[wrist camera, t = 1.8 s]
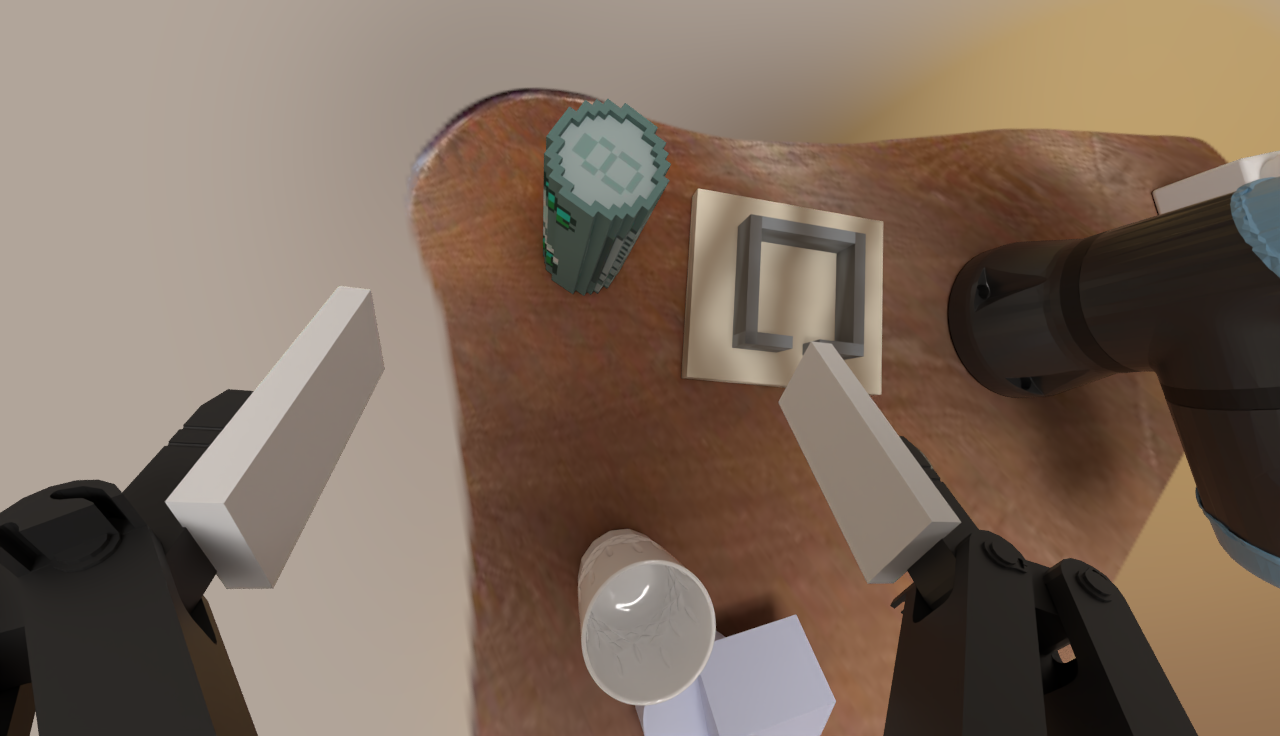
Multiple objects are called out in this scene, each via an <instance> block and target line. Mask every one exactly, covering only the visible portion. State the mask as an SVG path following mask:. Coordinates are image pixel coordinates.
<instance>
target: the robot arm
mask: <svg viewBox="0 0 1280 736" xmlns="http://www.w3.org/2000/svg"><path fill="white" fill-rule="evenodd" d="M949 325H950V331H951V335H952V339H953V342H954V345H955V348H956V350H957V353H958V355H959V357H960V359H961V360H962V362H963V364H964V365H965V367H966V368H967V369H968V371H969V372H970V373H971V374H972V375H973V376H974V377H975V378H976V379H977V380H978V381H979V382H980V383H981V384H982V385H984V386H985V387H987V388H988V389H990V390H992V391H993V392H995V393H998V394H1000V395H1003V396H1008V397H1014V398H1024V397H1045V396H1051V395H1055V394H1058V393H1061V392H1064V391H1067V390H1070V389H1073V388H1075V387H1078V386H1081V385H1084V384H1087V383H1090V382H1093V381H1096V380H1099V379H1102V378H1105V377H1108V376H1110V375H1113V374H1117V373H1128V372H1141V371H1155V372H1156V374H1157V376H1158V379H1159V381H1160V384H1161V387H1162V389H1163V392H1164V395H1165V399H1166V401H1167V404H1168V407H1169V410H1170V412H1171V415H1172V418H1173V421H1174V424H1175V427H1176V429H1177V432H1178V435H1179V438H1180V441H1181V444H1182V446H1183V449H1184V452H1185V455H1186V458H1187V460H1188V463H1189V466H1190V469H1191V471H1192V475H1193V477H1194V480H1195V483H1196V486H1197V487H1196V499H1197V502H1198V504H1199V507H1200V508H1201V509H1202V510H1203V513H1204V515H1205V516H1206V517H1207V518H1208V519H1209V520H1210V523H1211V525H1212V527H1213V530H1214V532H1215V535H1216V537H1217V539H1218V541H1219V543H1220V545H1221V546H1222V547H1223V549H1224V550H1225V551H1226V552H1227V553H1228V554H1229V556H1230V557H1231V558H1232V559H1233V560H1235V561H1236V562H1237V563H1238V564H1239V565H1241V566H1242V567H1243V568H1245V569H1246V570H1248V571H1249V572H1251V573H1252V574H1254V575H1255V576H1257V577H1259V578H1261V579H1262V580H1264V581H1266V582H1268V583H1270V584H1272V585H1274V586H1276V587H1278V588H1280V176H1279V177H1269V178H1262V179H1258V180H1255V181H1252V182H1249V183H1247V184H1244V185H1242V186H1240V187H1239V188H1238V189H1237V191H1235V192H1232V193H1228V194H1225V195H1222V196H1219V197H1215V198H1212V199H1209V200H1206V201H1203V202H1199V203H1196V204H1193V205H1190V206H1186V207H1183V208H1180V209H1177V210H1173V211H1170V212H1167V213H1164V214H1161V215H1157V216H1154V217H1151V218H1148V219H1144V220H1141V221H1138V222H1135V223H1131V224H1128V225H1125V226H1122V227H1119V228H1115V229H1112V230H1110V231H1106V232H1103V233H1100V234H1097V235H1094V236H1091V237H1087V238H1084V239H1069V240H1050V241H1031V242H1016V243H1011V244H1007V245H1003V246H1000V247H998V248H995V249H992V250H989V251H987V252H984V253H982V254H979V255H978V256H976V257H975V258H973V259H972V260H971V261H969V262H968V263H967V264H966V265H965V267H964V268H963V269H962V270H961V272H960V273H959V275H958V277H957V279H956V281H955V283H954V286H953V289H952V292H951V296H950V302H949ZM383 371H384V363H383V357H382V351H381V345H380V339H379V333H378V328H377V322H376V316H375V310H374V304H373V299H372V293H371V289H362V288H354V287H345V286H338V288H337V289H336V290H335V291H334V293H333V294H332V295H331V296H330V297H329V299H328V300H327V301H326V302H325V304H324V305H323V306H322V308H321V309H320V310H319V311H318V312H317V314H316V315H315V316H314V317H313V319H312V320H311V321H310V322H309V323H308V325H307V326H306V327H305V328H304V330H303V331H302V332H301V333H300V335H299V336H298V337H297V338H296V340H295V341H294V342H293V343H292V345H291V346H290V347H289V348H288V350H287V351H286V352H285V353H284V355H283V356H282V357H281V358H280V359H279V361H278V362H277V363H276V364H275V366H274V367H273V368H272V369H271V371H270V372H269V373H268V374H267V376H266V377H265V378H264V379H263V381H262V382H261V383H260V384H259V385H258V387H257V388H256V389H255V390H254V391H244V390H230V389H228V390H226V391H224V392H223V393H221V394H219V395H218V396H216V397H215V398H213V399H211V400H210V401H208V402H206V403H205V404H203V405H201V406H200V407H199V409H198V410H197V411H196V412H195V413H194V414H193V415H192V416H191V417H190V419H189V420H188V421H187V422H186V423H185V424H184V428H183V429H180V430H179V431H178V432H177V433H176V434H175V435H174V436H173V437H172V438H171V440H170V441H169V444H168V446H164V447H163V448H162V449H161V450H160V452H159V453H158V454H157V455H156V456H155V457H154V458H153V459H152V460H151V462H150V463H149V464H148V465H147V466H146V467H145V468H144V469H143V470H142V472H141V473H140V474H139V475H138V476H137V477H136V478H135V479H134V480H133V481H132V482H131V484H130V485H129V486H128V487H127V488H126V489H125V490H124V491H123V492H122V493H121V491H120V490H119V489H118V488H117V486H116V485H115V484H112V483H108V482H105V481H101V480H80V481H79V480H77V481H72V482H68V483H64V484H60V485H56V486H51V487H48V488H46V489H43V490H41V491H39V492H37V493H34V494H32V495H29V496H27V497H25V498H23V499H21V500H19V501H18V502H16V503H15V504H13V505H12V506H10V507H9V508H7V509H6V510H4V511H3V512H1V513H0V736H30V731H31V727H32V723H33V719H34V715H35V711H36V717H37V724H38V731H39V736H258V734H257V732H256V729H255V727H254V724H253V721H252V718H251V716H250V713H249V711H248V708H247V705H246V702H245V700H244V697H243V694H242V692H241V689H240V686H239V684H238V681H237V678H236V675H235V673H234V670H233V667H232V665H231V662H230V659H229V657H228V654H227V651H226V649H225V646H224V644H223V641H222V638H221V635H220V633H219V630H218V627H217V624H216V622H215V619H214V616H213V614H212V611H211V608H210V606H209V603H208V601H207V599H206V598H205V597H204V596H203V594H204V592H205V591H206V589H207V587H208V586H209V584H210V582H211V581H212V579H213V578H214V576H215V575H217V576H218V577H219V579H220V580H221V581H222V583H223V584H224V586H225V587H226V589H253V588H255V589H256V588H257V589H260V588H261V589H262V588H274V586H275V584H276V582H277V580H278V578H279V576H280V574H281V572H282V570H283V568H284V566H285V564H286V562H287V560H288V558H289V556H290V554H291V552H292V550H293V548H294V546H295V545H296V542H297V540H298V539H299V537H300V535H301V533H302V531H303V529H304V527H305V525H306V523H307V521H308V519H309V517H310V515H311V513H312V511H313V509H314V507H315V505H316V503H317V501H318V499H319V497H320V495H321V493H322V491H323V489H324V487H325V485H326V483H327V481H328V480H329V477H330V476H331V473H332V472H333V470H334V468H335V465H336V464H337V462H338V460H339V458H340V456H341V454H342V452H343V450H344V448H345V446H346V444H347V442H348V440H349V438H350V436H351V434H352V432H353V430H354V428H355V426H356V424H357V422H358V420H359V418H360V416H361V415H362V412H363V410H364V409H365V406H366V405H367V403H368V401H369V399H370V397H371V395H372V393H373V391H374V389H375V387H376V385H377V383H378V381H379V379H380V377H381V375H382V373H383ZM778 403H779V405H780V407H781V409H782V411H783V413H784V415H785V417H786V419H787V421H788V423H789V425H790V427H791V429H792V431H793V433H794V435H795V437H796V439H797V441H798V443H799V445H800V447H801V449H802V451H803V453H804V455H805V457H806V459H807V461H808V464H809V466H810V468H811V470H812V472H813V474H814V476H815V478H816V480H817V482H818V484H819V486H820V488H821V490H822V492H823V494H824V496H825V498H826V500H827V502H828V504H829V506H830V508H831V510H832V512H833V514H834V516H835V518H836V520H837V522H838V524H839V526H840V528H841V530H842V533H843V535H844V537H845V539H846V541H847V543H848V545H849V547H850V549H851V551H852V553H853V555H854V557H855V559H856V561H857V563H858V565H859V567H860V569H861V571H862V573H863V575H864V577H865V579H866V581H867V583H894V582H896V581H897V580H898V579H899V578H900V577H901V576H902V575H903V574H904V573H906V572H907V571H908V572H909V574H910V576H911V578H912V579H913V581H914V583H912V584H911V585H910V586H909V587H908V588H907V589H905V590H904V591H903V592H902V593H901V594H900V595H898V596H897V597H896V598H895V599H894V600H893V601H892V603H891V605H890V606H891V607H893V608H894V609H895V608H896V607H897V606H898V605H900V604H901V603H902V602H904V601H905V605H904V610H903V611H901V613H902V614H903V618H902V624H901V630H900V636H899V643H898V649H897V655H896V661H895V667H894V673H893V680H892V686H891V692H890V698H889V704H888V711H887V717H886V723H885V729H884V735H883V736H1198V735H1197V733H1196V731H1195V729H1194V727H1193V725H1192V723H1191V722H1190V720H1189V718H1188V716H1187V714H1186V712H1185V710H1184V708H1183V707H1182V705H1181V703H1180V701H1179V699H1178V697H1177V695H1176V693H1175V692H1174V690H1173V688H1172V686H1171V684H1170V682H1169V680H1168V679H1167V677H1166V675H1165V673H1164V671H1163V669H1162V667H1161V665H1160V663H1159V662H1158V660H1157V658H1156V656H1155V654H1154V652H1153V650H1152V649H1151V647H1150V645H1149V643H1148V641H1147V639H1146V637H1145V635H1144V634H1143V632H1142V630H1141V628H1140V626H1139V624H1138V623H1137V620H1136V619H1135V617H1134V615H1133V613H1132V611H1131V609H1130V607H1129V605H1128V604H1127V602H1126V600H1125V598H1124V597H1123V595H1122V594H1121V592H1120V591H1119V590H1118V588H1117V587H1116V586H1115V585H1114V584H1113V583H1112V582H1111V581H1110V580H1109V579H1108V578H1107V577H1106V576H1105V575H1104V574H1103V573H1101V572H1100V571H1098V570H1097V569H1095V568H1094V567H1092V566H1090V565H1088V564H1086V563H1084V562H1082V561H1080V560H1076V559H1072V558H1068V559H1063V560H1062V561H1060V562H1059V563H1057V564H1056V565H1054V566H1053V567H1051V568H1049V567H1046V566H1043V565H1040V564H1037V563H1034V562H1030V561H1027V560H1025V558H1024V557H1023V556H1022V554H1021V553H1020V552H1019V551H1018V550H1017V549H1016V548H1015V547H1014V546H1013V545H1012V544H1011V543H1009V542H1008V541H1006V540H1005V539H1003V538H1002V537H1000V536H999V535H996V534H994V533H992V532H989V531H985V530H979V529H978V528H977V527H976V525H975V524H974V523H973V521H972V520H971V519H970V517H969V516H968V515H967V513H966V512H965V511H964V509H963V508H962V507H961V505H960V504H959V503H958V501H957V500H956V499H955V497H954V496H953V495H952V493H951V492H950V491H949V489H948V488H947V487H946V485H945V484H944V483H943V482H941V481H940V477H939V476H938V475H937V473H936V472H935V471H934V469H931V465H930V464H929V463H928V461H927V460H926V459H925V457H924V456H923V454H922V453H921V452H920V451H919V450H918V449H917V448H916V447H915V446H914V445H913V444H911V443H910V442H909V441H908V440H907V439H906V438H904V437H903V436H898V434H897V433H896V432H895V430H894V429H893V427H892V426H891V425H890V423H889V422H888V421H887V419H886V418H885V416H884V415H883V414H882V412H881V411H880V410H879V408H878V407H877V405H876V404H875V403H874V401H873V400H872V399H871V397H870V396H869V394H868V393H867V392H866V390H865V389H864V387H863V386H862V385H861V383H860V382H859V381H858V379H857V378H856V376H855V375H854V374H853V372H852V371H851V370H850V368H849V367H848V365H847V364H846V363H845V361H844V360H843V359H842V357H841V356H840V354H839V353H838V352H837V350H836V349H835V348H834V346H833V345H832V344H830V343H822V342H813V341H811V342H810V344H809V346H808V348H807V350H806V352H805V353H804V355H803V357H802V359H801V361H800V363H799V365H798V366H797V368H796V370H795V372H794V374H793V376H792V378H791V380H790V381H789V383H788V385H787V387H786V389H785V391H784V393H783V394H782V396H781V398H780V400H779V402H778ZM1069 644H1071V647H1072V649H1073V652H1074V654H1075V657H1076V658H1075V659H1073V660H1071V661H1069V662H1067V663H1063V662H1062V660H1061V658H1060V656H1059V653H1058V650H1059V649H1061V648H1063V647H1065V646H1067V645H1069Z"/></svg>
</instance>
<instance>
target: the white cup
mask: <svg viewBox="0 0 1280 736" xmlns="http://www.w3.org/2000/svg"><path fill="white" fill-rule="evenodd" d="M578 608H579V621H580V631H581V644H582V652H583V657H584V661H585V664H586V667H587V669H588V671H589V673H590V675H591V677H592V678H593V680H594V681H595V682H596V684H597V685H598V686H599V687H600V688H601V689H602V690H603V691H604V692H605V693H607V694H608V695H609V696H611V697H613V698H614V699H616V700H618V701H621V702H624V703H627V704H631V705H640V706H645V705H654V704H658V703H662V702H665V701H667V700H670V699H672V698H674V697H675V696H677V695H679V694H680V693H682V692H683V691H684V690H686V689H687V688H688V687H689V686H690V685H691V684H692V683H693V682H694V681H695V680H696V679H697V677H698V676H699V675H700V674H701V672H702V671H703V669H704V667H705V665H706V664H707V662H708V659H709V657H710V655H711V652H712V649H713V645H714V640H715V632H716V620H715V612H714V608H713V604H712V601H711V598H710V596H709V594H708V592H707V590H706V588H705V587H704V585H703V584H702V583H701V581H700V580H699V579H698V578H697V577H696V576H695V575H694V574H693V573H692V572H690V571H689V570H688V569H687V568H686V567H685V566H684V565H683V564H681V563H680V562H679V561H678V560H677V559H676V558H675V557H674V556H672V555H671V554H670V553H669V552H668V551H666V550H665V549H664V548H662V547H661V546H660V545H659V544H657V543H656V542H654V541H652V540H651V539H650V538H649V537H648V536H647V535H644V534H642V533H639V532H637V531H634V530H631V529H621V530H611V531H609V532H607V533H605V534H604V535H602V536H601V537H599V538H597V539H596V540H594V541H593V542H592V543H591V545H590V546H589V548H588V549H587V551H586V552H585V554H584V555H583V557H582V558H581V564H580V569H579V574H578Z"/></svg>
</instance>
